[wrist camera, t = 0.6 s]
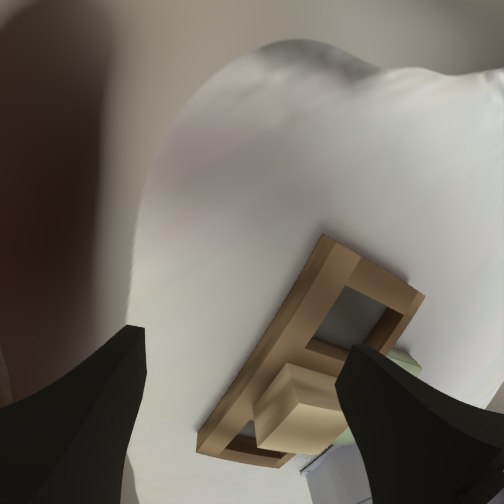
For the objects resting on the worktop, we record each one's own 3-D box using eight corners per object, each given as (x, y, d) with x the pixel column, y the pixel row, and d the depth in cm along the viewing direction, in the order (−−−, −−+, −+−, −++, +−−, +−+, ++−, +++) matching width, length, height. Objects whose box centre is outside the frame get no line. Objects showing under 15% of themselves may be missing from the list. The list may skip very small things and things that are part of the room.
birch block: (305, 419, 19) (317, 455, 15) (252, 407, 18) (257, 447, 14) (341, 378, 18) (360, 414, 14) (286, 362, 17) (298, 403, 13)
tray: (315, 455, 25) (320, 471, 22) (197, 433, 22) (195, 452, 20) (440, 305, 20) (456, 316, 18) (322, 233, 18) (336, 242, 15)
